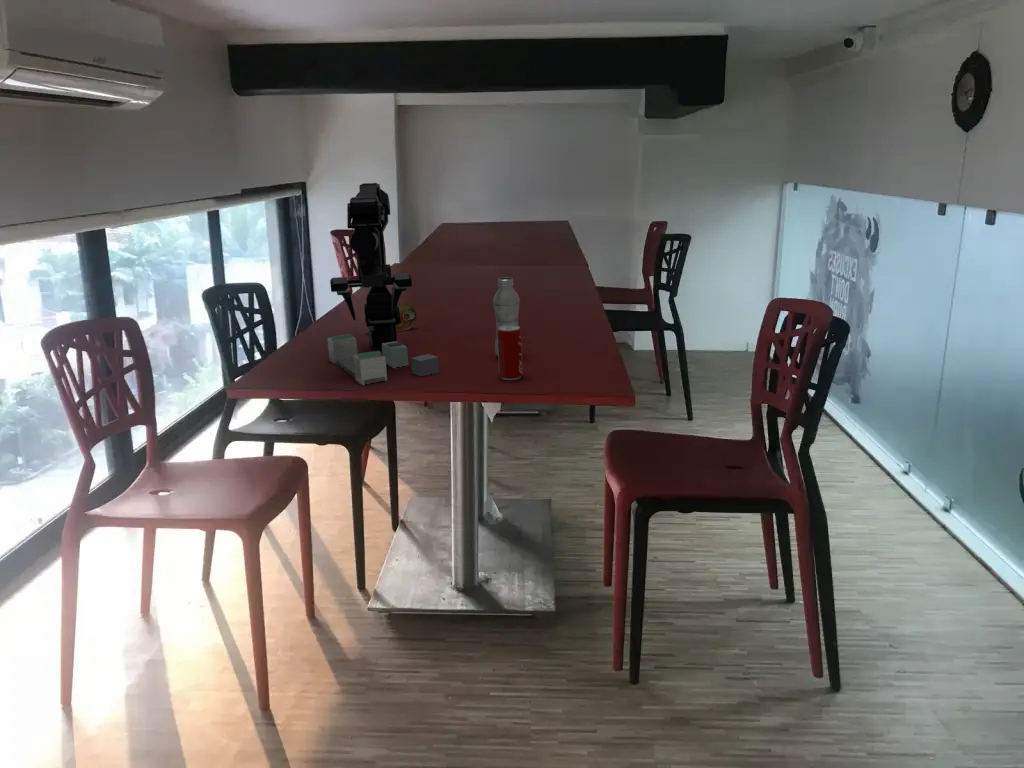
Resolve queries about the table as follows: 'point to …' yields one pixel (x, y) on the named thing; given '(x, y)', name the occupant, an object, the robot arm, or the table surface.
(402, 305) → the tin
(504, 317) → the plastic bottle
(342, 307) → the table surface
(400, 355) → the block
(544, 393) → the table surface
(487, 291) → the table surface
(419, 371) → the block
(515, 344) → the soda can
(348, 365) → the rail
